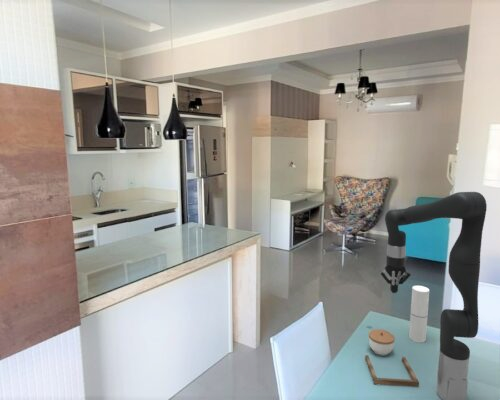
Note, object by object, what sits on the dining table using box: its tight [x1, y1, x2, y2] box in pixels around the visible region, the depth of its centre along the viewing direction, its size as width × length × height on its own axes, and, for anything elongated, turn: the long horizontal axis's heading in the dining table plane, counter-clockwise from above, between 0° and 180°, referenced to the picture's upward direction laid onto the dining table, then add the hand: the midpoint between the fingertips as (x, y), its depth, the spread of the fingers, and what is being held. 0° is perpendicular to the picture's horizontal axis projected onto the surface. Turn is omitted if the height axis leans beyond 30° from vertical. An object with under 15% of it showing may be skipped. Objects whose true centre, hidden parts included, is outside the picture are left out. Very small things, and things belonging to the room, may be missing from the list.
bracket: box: [364, 354, 420, 388], centre depth 140 cm, size 16×16×2 cm
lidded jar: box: [368, 328, 396, 356], centre depth 153 cm, size 11×11×9 cm
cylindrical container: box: [408, 285, 430, 344], centre depth 162 cm, size 7×7×25 cm
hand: (393, 292), depth 152 cm, fingers closed
